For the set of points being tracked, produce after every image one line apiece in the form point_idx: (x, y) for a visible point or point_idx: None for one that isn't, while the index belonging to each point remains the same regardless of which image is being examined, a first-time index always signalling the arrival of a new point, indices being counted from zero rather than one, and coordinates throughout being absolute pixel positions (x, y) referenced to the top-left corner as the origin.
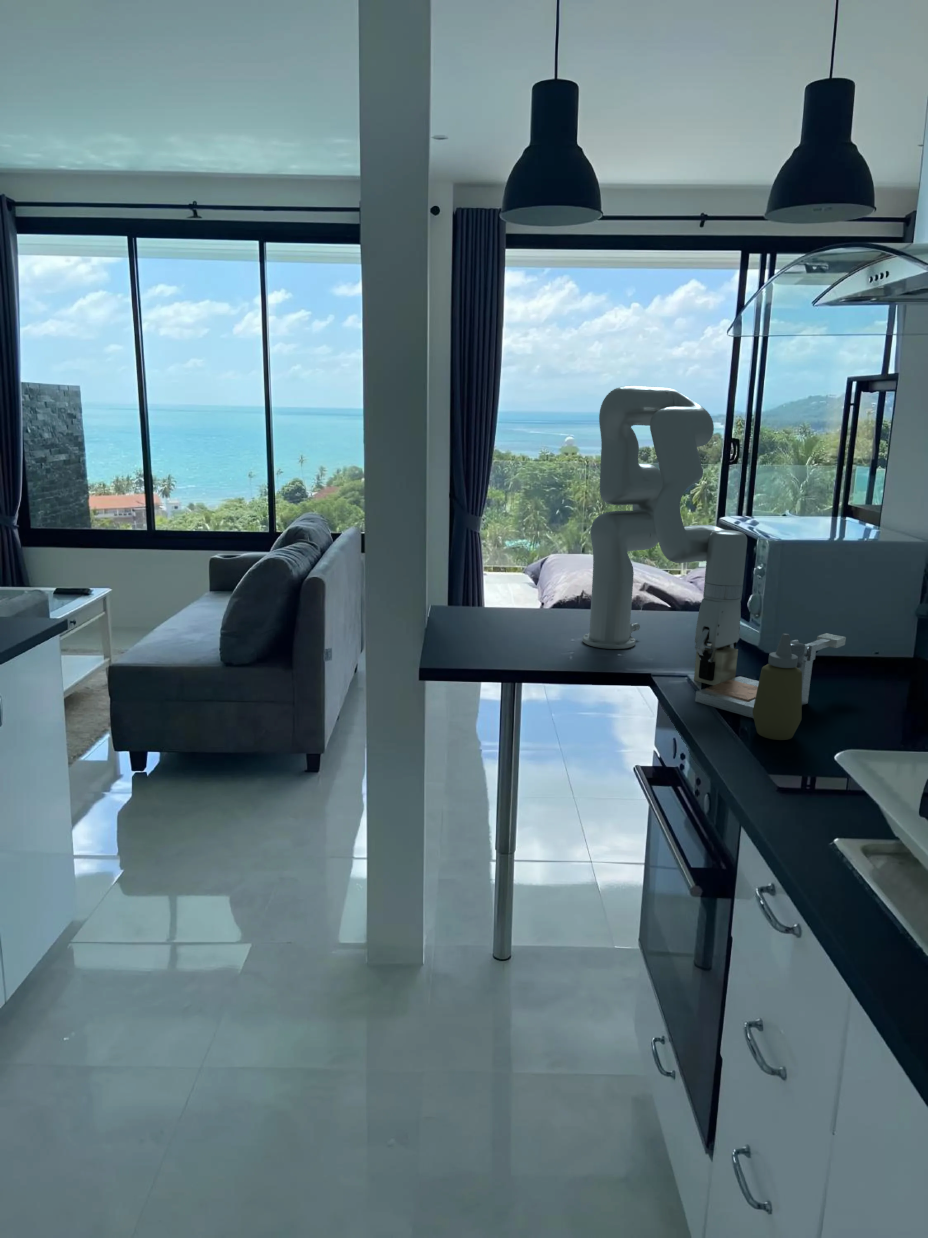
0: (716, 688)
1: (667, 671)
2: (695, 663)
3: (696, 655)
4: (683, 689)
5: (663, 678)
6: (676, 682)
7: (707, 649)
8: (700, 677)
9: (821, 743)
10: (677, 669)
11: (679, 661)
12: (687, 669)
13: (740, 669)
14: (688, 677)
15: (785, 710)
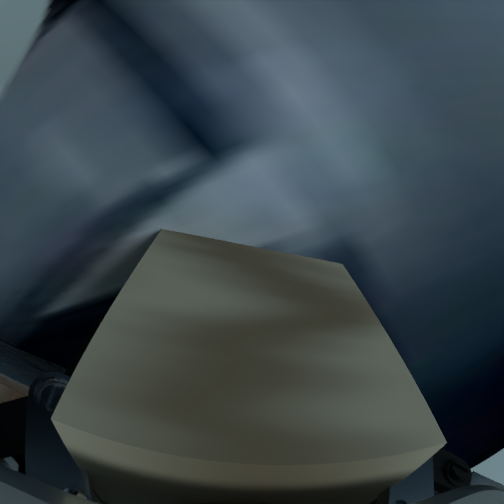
0: (6, 399)
1: (245, 9)
2: (122, 290)
3: (88, 348)
4: (4, 249)
5: (73, 70)
6: (53, 168)
7: (118, 486)
8: None
9: None
10: (342, 49)
11: (486, 48)
12: (385, 108)
13: (475, 327)
14: (198, 175)
15: None
